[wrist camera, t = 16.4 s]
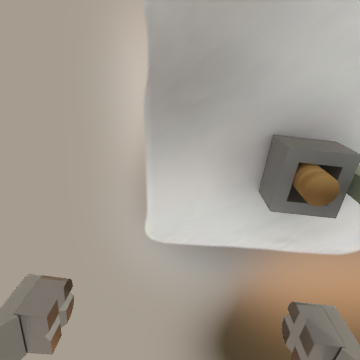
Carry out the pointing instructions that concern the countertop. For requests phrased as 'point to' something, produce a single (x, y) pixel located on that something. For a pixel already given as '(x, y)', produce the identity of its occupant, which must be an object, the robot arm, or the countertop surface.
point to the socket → (287, 165)
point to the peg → (315, 184)
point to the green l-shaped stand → (355, 186)
